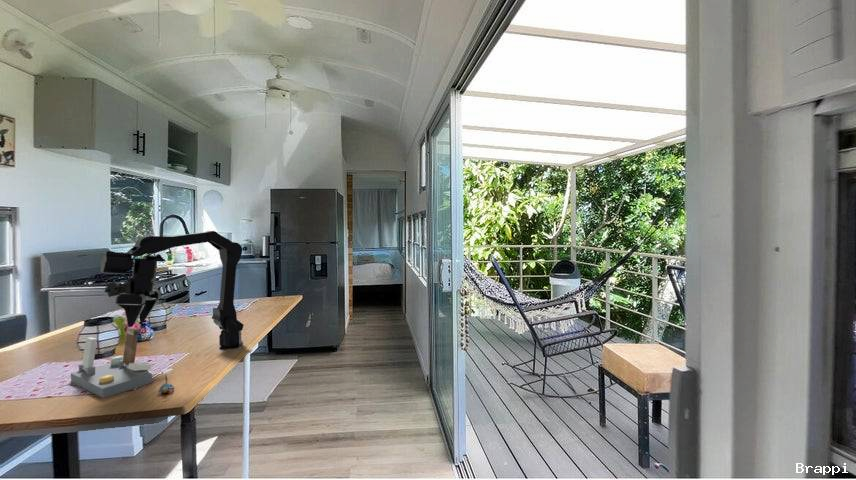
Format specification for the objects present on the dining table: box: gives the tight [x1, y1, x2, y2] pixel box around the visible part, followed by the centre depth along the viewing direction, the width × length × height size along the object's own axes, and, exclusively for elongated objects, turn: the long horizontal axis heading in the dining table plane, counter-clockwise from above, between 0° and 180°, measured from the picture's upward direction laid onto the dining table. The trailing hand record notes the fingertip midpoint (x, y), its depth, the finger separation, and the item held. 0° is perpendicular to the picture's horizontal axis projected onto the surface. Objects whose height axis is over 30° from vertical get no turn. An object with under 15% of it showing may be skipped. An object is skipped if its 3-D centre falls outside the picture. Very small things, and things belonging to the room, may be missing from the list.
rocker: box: [128, 361, 152, 371], centre depth 102 cm, size 4×4×1 cm
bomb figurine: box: [157, 374, 175, 398], centre depth 95 cm, size 8×8×6 cm
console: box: [70, 360, 153, 399], centre depth 102 cm, size 11×22×4 cm, turn 61°
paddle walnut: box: [123, 326, 140, 365], centre depth 106 cm, size 1×4×11 cm, turn 61°
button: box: [110, 354, 124, 366], centre depth 109 cm, size 3×3×2 cm
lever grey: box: [81, 336, 98, 369], centre depth 103 cm, size 1×4×8 cm, turn 61°
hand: (136, 323), depth 111 cm, fingers open, 9 cm apart
